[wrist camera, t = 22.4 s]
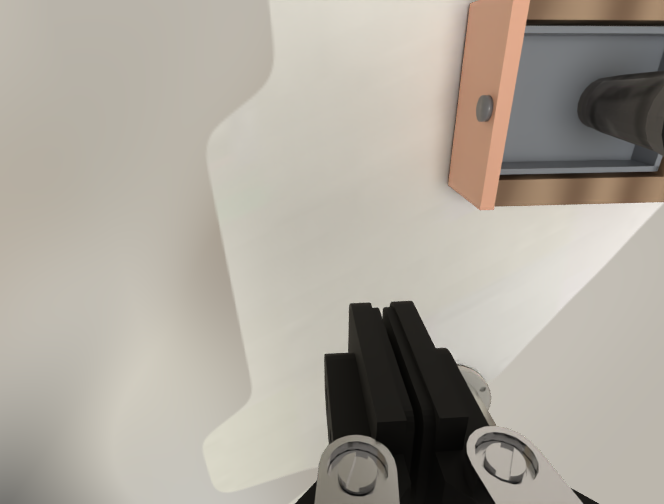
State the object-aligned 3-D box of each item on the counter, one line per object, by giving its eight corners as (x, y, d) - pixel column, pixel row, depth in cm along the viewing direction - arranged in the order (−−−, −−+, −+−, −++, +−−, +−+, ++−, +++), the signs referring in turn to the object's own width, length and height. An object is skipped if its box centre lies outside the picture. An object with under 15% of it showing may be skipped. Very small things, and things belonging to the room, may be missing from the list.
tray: (443, 185, 41) (474, 210, 34) (464, 3, 35) (508, -14, 27) (620, 181, 43) (686, 204, 35) (673, 5, 36) (768, -11, 29)
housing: (459, 191, 42) (478, 206, 38) (486, -8, 35) (514, -19, 30) (640, 187, 44) (679, 201, 39) (702, -6, 36) (760, -16, 32)
